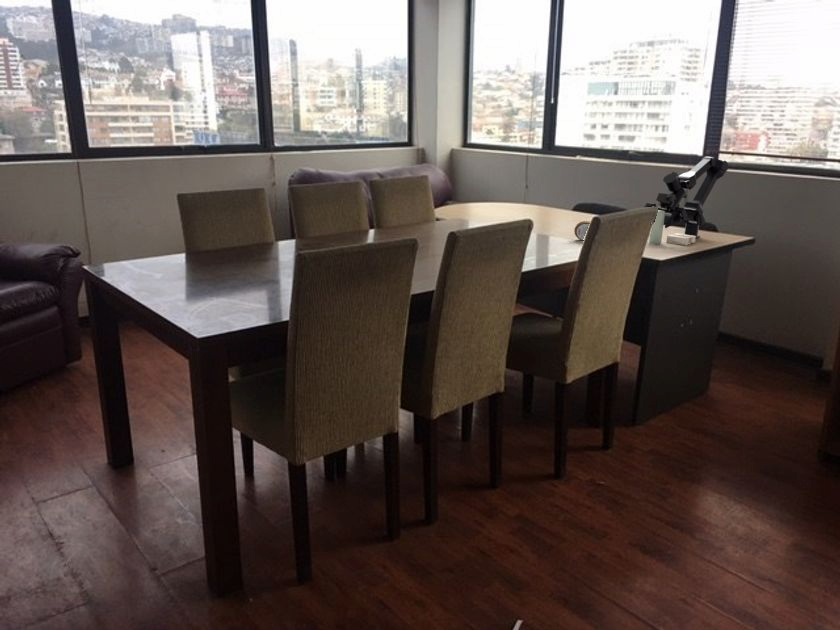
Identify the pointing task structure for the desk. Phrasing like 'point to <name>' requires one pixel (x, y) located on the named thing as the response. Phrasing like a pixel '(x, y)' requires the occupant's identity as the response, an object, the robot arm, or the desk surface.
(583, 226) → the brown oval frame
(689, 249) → the desk surface
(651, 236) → the post
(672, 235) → the plinth
